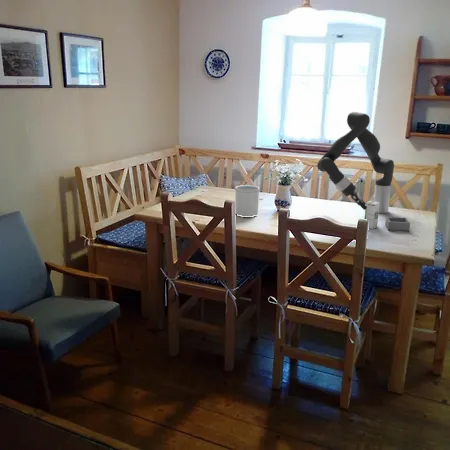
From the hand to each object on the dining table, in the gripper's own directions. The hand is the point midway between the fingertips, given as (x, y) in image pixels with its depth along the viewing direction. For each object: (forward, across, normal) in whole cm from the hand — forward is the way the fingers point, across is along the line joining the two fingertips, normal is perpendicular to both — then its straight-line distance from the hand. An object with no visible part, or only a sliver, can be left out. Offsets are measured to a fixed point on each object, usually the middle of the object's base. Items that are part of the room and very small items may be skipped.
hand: (365, 206), depth 262 cm
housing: (+21, 0, -4) cm, 21 cm away
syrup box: (+11, 0, +6) cm, 12 cm away
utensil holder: (-40, +14, +57) cm, 71 cm away
